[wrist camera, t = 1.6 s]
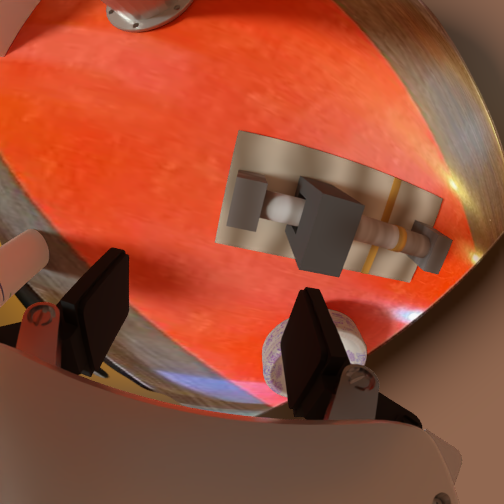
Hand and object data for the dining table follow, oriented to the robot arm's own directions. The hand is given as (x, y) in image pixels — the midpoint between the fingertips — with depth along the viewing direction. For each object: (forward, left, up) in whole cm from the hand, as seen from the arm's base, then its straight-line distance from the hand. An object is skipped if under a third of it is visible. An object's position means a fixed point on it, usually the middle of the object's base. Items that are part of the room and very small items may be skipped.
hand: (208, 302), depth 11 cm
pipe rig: (0, +14, -24) cm, 28 cm away
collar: (0, +9, -22) cm, 24 cm away
